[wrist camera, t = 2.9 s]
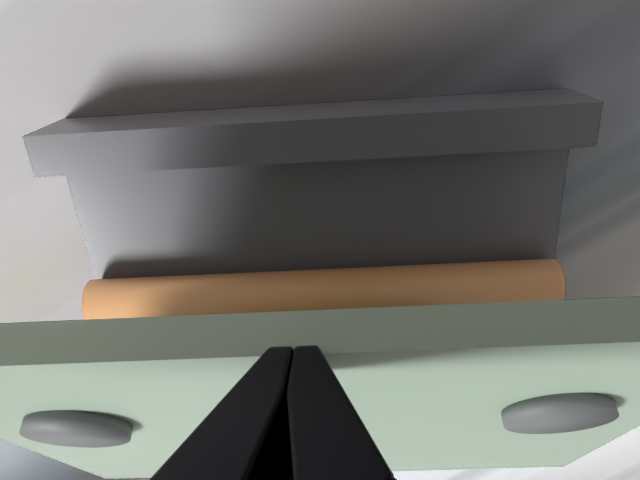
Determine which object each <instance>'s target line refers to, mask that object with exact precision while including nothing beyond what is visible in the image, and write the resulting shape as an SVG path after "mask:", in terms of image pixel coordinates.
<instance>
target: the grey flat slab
mask: <svg viewBox="0 0 640 480" xmlns="http://www.w3.org/2000/svg"><path fill="white" fill-rule="evenodd" d="M602 105H603V102H601V101H598V100H596V99H593V98H590V97H588V96H585V95H582V94H580V93H577V92H574V91H571V90H569V89H566V88H562V89H546V90H529V91H512V92H496V93H479V94H463V95H446V96H429V97H413V98H396V99H380V100H363V101H347V102H330V103H313V104H297V105H280V106H264V107H247V108H231V109H214V110H197V111H181V112H164V113H148V114H131V115H115V116H98V117H81V118H65V119H62V120H59V121H57V122H55V123H52V124H50V125H48V126H45V127H43V128H41V129H38V130H36V131H34V132H31V133H29V134H27V135H24V136H22V137H23V140H24V143H25V147H26V150H27V153H28V157H29V160H30V164H31V167H32V170H33V174H34V177H47V176H65V175H66V178H67V182H68V185H69V189H70V193H71V196H72V200H73V204H74V207H75V211H76V215H77V219H78V222H79V226H80V230H81V233H82V237H83V241H84V244H85V248H86V252H87V255H88V259H89V263H90V267H91V270H92V274H93V278H94V280H90V281H89V282H88V283H87V284H86V286H85V288H84V291H83V295H82V311H83V316H84V319H85V320H90V319H114V318H138V317H162V316H185V315H209V314H233V313H257V312H281V311H305V310H329V309H353V308H377V307H400V306H424V305H448V304H472V303H496V302H520V301H544V300H564V299H565V293H566V282H565V275H564V271H563V268H562V266H561V264H560V262H559V261H558V260H557V259H554V257H555V249H556V242H557V234H558V227H559V219H560V212H561V204H562V196H563V189H564V181H565V174H566V166H567V159H568V151H569V148H574V147H592V146H596V144H597V138H598V131H599V125H600V118H601V112H602Z"/></svg>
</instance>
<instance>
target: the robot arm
mask: <svg viewBox="0 0 640 480" xmlns="http://www.w3.org/2000/svg"><path fill="white" fill-rule="evenodd" d="M149 480H397V479H396V478H394V475H393V473H392V471H391V469H390V468H389V466H388V464H387V463H386V461H385V459H384V457H383V456H382V454H381V452H380V451H379V449H378V447H377V445H376V444H375V442H374V440H373V439H372V437H371V435H370V433H369V432H368V430H367V428H366V427H365V425H364V423H363V422H362V420H361V418H360V416H359V415H358V413H357V411H356V410H355V408H354V406H353V404H352V403H351V401H350V399H349V398H348V396H347V394H346V392H345V391H344V389H343V387H342V386H341V384H340V382H339V380H338V379H337V377H336V375H335V374H334V372H333V370H332V368H331V367H330V365H329V363H328V362H327V360H326V358H325V356H324V355H323V353H322V351H321V350H320V348H319V347H318V346H317V345H306V346H296V347H295V348H294V349H293V348H292V347H291V346H280V347H270V348H268V349H267V350H266V351H265V352H264V353H263V354H262V356H261V357H260V358H259V359H258V360H257V361H256V362H255V363H254V364H253V366H252V367H251V368H250V369H249V370H248V371H247V372H246V373H245V374H244V375H243V377H242V378H241V379H240V380H239V381H238V382H237V383H236V384H235V385H234V387H233V388H232V389H231V390H230V391H229V392H228V393H227V394H226V395H225V396H224V398H223V399H222V400H221V401H220V402H219V403H218V404H217V405H216V406H215V408H214V409H213V410H212V411H211V412H210V413H209V414H208V415H207V416H206V417H205V419H204V420H203V421H202V422H201V423H200V424H199V425H198V426H197V427H196V429H195V430H194V431H193V432H192V433H191V434H190V435H189V436H188V437H187V438H186V440H185V441H184V442H183V443H182V444H181V445H180V446H179V447H178V448H177V450H176V451H175V452H174V453H173V454H172V455H171V456H170V457H169V458H168V459H167V461H166V462H165V463H164V464H163V465H162V466H161V467H160V468H159V469H158V471H157V472H156V473H155V474H154V475H153V476H152V477H151V478H150V479H149Z"/></svg>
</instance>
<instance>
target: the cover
mask: <svg viewBox="0 0 640 480" xmlns="http://www.w3.org/2000/svg"><path fill="white" fill-rule="evenodd" d="M306 345H317V346H318V347H319V348H320V350H321V351H322V353H323V355H324V356H325V358H326V360H327V362H328V363H329V365H330V367H331V368H332V370H333V372H334V374H335V375H336V377H337V379H338V380H339V382H340V384H341V386H342V387H343V389H344V391H345V392H346V394H347V396H348V398H349V399H350V401H351V403H352V404H353V406H354V408H355V410H356V411H357V413H358V415H359V416H360V418H361V420H362V422H363V423H364V425H365V427H366V428H367V430H368V432H369V433H370V435H371V437H372V439H373V440H374V442H375V444H376V445H377V447H378V449H379V451H380V452H381V454H382V456H383V457H384V459H385V461H386V463H387V464H388V466H389V468H390V469H391V471H415V470H451V469H488V468H525V467H561V466H565V465H567V464H569V463H571V462H573V461H575V460H576V459H578V458H580V457H582V456H584V455H586V454H588V453H590V452H591V451H593V450H595V449H597V448H599V447H601V446H603V445H604V444H606V443H608V442H610V441H612V440H614V439H616V438H618V437H619V436H621V435H623V434H625V433H627V432H629V431H631V430H632V429H634V428H636V427H638V426H640V296H639V297H615V298H592V299H568V300H544V301H520V302H496V303H472V304H448V305H424V306H400V307H377V308H353V309H329V310H305V311H281V312H257V313H233V314H209V315H185V316H162V317H138V318H114V319H90V320H66V321H42V322H18V323H0V439H1V440H4V441H7V442H9V443H12V444H15V445H17V446H20V447H22V448H25V449H28V450H30V451H33V452H36V453H38V454H41V455H44V456H46V457H49V458H52V459H54V460H57V461H60V462H62V463H65V464H68V465H70V466H73V467H76V468H78V469H81V470H84V471H86V472H89V473H91V474H94V475H97V476H99V477H102V478H105V479H121V478H151V477H152V476H153V475H154V474H155V473H156V472H157V471H158V469H159V468H160V467H161V466H162V465H163V464H164V463H165V462H166V461H167V459H168V458H169V457H170V456H171V455H172V454H173V453H174V452H175V451H176V450H177V448H178V447H179V446H180V445H181V444H182V443H183V442H184V441H185V440H186V438H187V437H188V436H189V435H190V434H191V433H192V432H193V431H194V430H195V429H196V427H197V426H198V425H199V424H200V423H201V422H202V421H203V420H204V419H205V417H206V416H207V415H208V414H209V413H210V412H211V411H212V410H213V409H214V408H215V406H216V405H217V404H218V403H219V402H220V401H221V400H222V399H223V398H224V396H225V395H226V394H227V393H228V392H229V391H230V390H231V389H232V388H233V387H234V385H235V384H236V383H237V382H238V381H239V380H240V379H241V378H242V377H243V375H244V374H245V373H246V372H247V371H248V370H249V369H250V368H251V367H252V366H253V364H254V363H255V362H256V361H257V360H258V359H259V358H260V357H261V356H262V354H263V353H264V352H265V351H266V350H267V349H268V348H270V347H280V346H291V347H292V348H293V349H294V348H295V347H296V346H306Z"/></svg>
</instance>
